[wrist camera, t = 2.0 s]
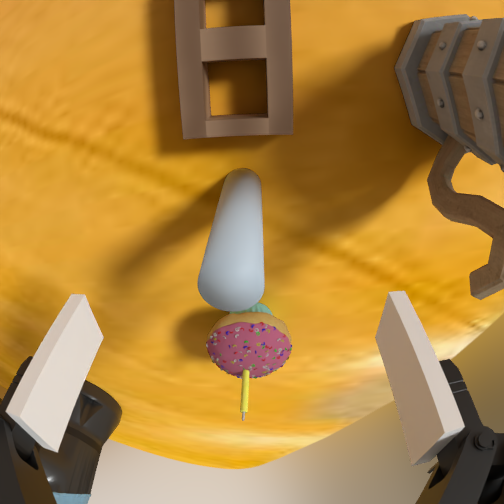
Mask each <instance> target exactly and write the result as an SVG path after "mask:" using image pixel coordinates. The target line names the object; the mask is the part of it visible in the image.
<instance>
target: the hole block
mask: <svg viewBox="0 0 504 504" xmlns="http://www.w3.org/2000/svg"><path fill="white" fill-rule="evenodd" d="M263 9H264V25H253V26H232V27H218V28H208V29H206V14H205V0H174V10H175V34H176V52H177V68H178V83H179V96H180V108H181V120H182V130H183V139H194V138H207V137H223V136H244V135H293V75H292V39H291V13H290V0H263ZM244 60H266V90H267V113H261V114H234V115H217V116H211V107H210V92H209V75H208V63H213V62H226V61H244Z"/></svg>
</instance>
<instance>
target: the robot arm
mask: <svg viewBox="0 0 504 504" xmlns="http://www.w3.org/2000/svg"><path fill="white" fill-rule="evenodd" d="M103 338H104V337H103V335H102V333H101V331H100V329H99V326H98V324H97V322H96V320H95V317H94V315H93V313H92V311H91V308H90V306H89V303H88V301H87V299H86V296H85V295H83V294H71V296H70V297H69V299H68V300H67V302H66V304H65V305H64V307H63V308H62V310H61V311H60V313H59V315H58V316H57V318H56V319H55V321H54V323H53V324H52V326H51V328H50V329H49V331H48V333H47V334H46V336H45V338H44V339H43V341H42V343H41V345H40V346H39V348H38V350H37V352H36V353H35V355H34V357H32V356H29V357H28V358H27V359H26V360H25V361H24V362H23V363H22V364H21V366H20V368H19V370H18V372H17V373H16V374H17V375H15V377H14V379H13V383H11V385H10V387H9V389H8V391H7V393H6V395H5V397H4V399H3V400H2V399H1V398H0V504H87V503H88V500H89V497H90V496H91V494H90V493H91V489H92V485H93V480H94V476H95V472H96V468H97V465H98V461H99V457H100V453H101V450H102V446H103V445H104V443H105V442H106V441H107V439H108V438H109V437H110V435H111V434H112V433H113V431H114V430H115V429H116V427H117V426H118V425H119V422H120V419H121V415H122V410H121V407H120V406H119V404H118V403H117V402H116V401H115V400H114V399H113V398H112V397H111V396H110V395H109V394H107V393H106V392H105V391H103V390H102V389H100V388H99V387H97V386H95V385H93V384H91V383H89V382H87V381H85V379H86V376H87V374H88V372H89V369H90V367H91V365H92V362H93V360H94V358H95V355H96V353H97V351H98V349H99V346H100V344H101V342H102V340H103ZM375 338H376V341H377V344H378V347H379V350H380V354H381V357H382V360H383V363H384V366H385V369H386V372H387V376H388V379H389V382H390V386H391V389H392V392H393V396H394V399H395V403H396V406H397V410H398V413H399V417H400V420H401V424H402V428H403V432H404V435H405V440H406V444H407V448H408V452H409V455H410V460H411V464H412V466H414V465H418V464H422V463H426V462H429V461H431V460H432V459H433V458H434V457H435V456H436V455H437V457H438V461H439V462H437V463H436V464H435V465H434V466H433V467H432V468H431V469H430V470H429V471H428V473H431V472H432V471H433V473H432V474H431V476H430V478H429V480H428V482H427V484H426V486H425V488H424V490H423V492H422V493H421V495H420V497H419V499H418V500H417V502H416V504H504V433H494V432H493V430H492V429H490V428H488V427H486V426H483V424H482V423H481V421H480V419H479V416H478V413H477V411H476V408H475V406H474V403H473V401H472V398H471V396H470V394H469V392H468V391H467V387H466V384H465V382H463V378H462V375H461V373H460V371H459V369H458V368H457V367H456V366H455V365H454V363H452V361H451V360H450V359H448V360H443V361H438V358H437V356H436V354H435V352H434V350H433V347H432V345H431V343H430V341H429V339H428V337H427V335H426V332H425V330H424V328H423V326H422V324H421V322H420V320H419V318H418V316H417V314H416V312H415V310H414V308H413V306H412V304H411V302H410V300H409V298H408V296H407V295H406V293H405V291H396V292H388V296H387V300H386V303H385V307H384V310H383V314H382V317H381V320H380V324H379V327H378V330H377V334H376V337H375Z"/></svg>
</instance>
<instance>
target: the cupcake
mask: <svg viewBox="0 0 504 504" xmlns="http://www.w3.org/2000/svg"><path fill="white" fill-rule="evenodd" d="M206 346H207V349H208V353H209V355H210V357H211V359H212V362H213V363H216V365H217V366H218V367H219V368H220V369H222V370H224V371H225V372H227V374H231V375H233V376H237V378H241V379H242V392H241V408H240V412H242V413H243V414H242V420H243V421H244V418H245V413H247V410H248V391H249V378H257V377H261V376H262V377H263V376H265V375H266V376H267V375H268V374H270V373H272V372H273V371H276V370H277V369H279V367H282V366H283V365H284V364H285V361H286V360H288V359H289V355H290V353H291V347H292V345H291V336H290V333H289V331H288V329H287V326H286V324H285V323H284V322H283V321H282V320H279V319H277V318H276V317H274V316H273V315H272V313H271V311H270V310H269V308H268V307H266V306H265V305H263V304H261V303H258V302H257V303H256V304H255V305H253V306H252V307H250V308H248V309H245V310H242V311H234V312H232V311H230V313H229V314H228V315H226V316H224V317H222V318H221V319H220V320H219V321H217V322H216V324H215V325H214V326H213V328H212V329H211V331H210V332H209V334H208V336H207V342H206Z"/></svg>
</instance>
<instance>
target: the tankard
mask: <svg viewBox="0 0 504 504" xmlns="http://www.w3.org/2000/svg"><path fill="white" fill-rule="evenodd" d="M394 69H395V72H396V75H397V78H398V81H399V84H400V87H401V90H402V93H403V96H404V99H405V103H406V106H407V110H408V113H409V117H410V120H411V124H412V125H413V126H415V127H416V128H418V129H419V130H421V131H422V132H424V133H425V134H427V135H428V136H430V137H431V138H433V139H434V140H436V141H437V142H439V143H440V144H442V145H443V146H442V147H441V149H440V151H439V153H438V154H437V156H436V159H435V161H434V164H433V166H432V169H431V171H430V174H429V176H428V179H427V182H428V186H429V191H430V195H431V199H432V204H433V205H434V206H435V207H436V208H437V209H438V210H439V212H440V213H441V214H442V215H443V216H444V217H446V218H447V219H449V220H451V221H454V222H458V223H463V224H467V225H471V226H475V227H478V228H479V229H481V230H482V231H483V232H485V233H486V234H488V235H489V236H490V237H492V238H493V241H492V246H491V251H490V256H489V261H488V264H486V265H484V266H482V267H480V268H479V269H477V270H475V271H473V272H471V273H470V276H469V278H470V291H471V295H472V296H473V297H475V298H478V299H480V300H481V299H483V298H485V297H488V296H490V295H492V294H494V293H496V292H498V291H500V290H502V289H504V208H502V207H500V206H499V205H497V204H495V203H494V202H492V201H490V200H488V199H486V198H485V197H483V196H480V195H471V194H462V193H457V192H455V191H454V189H453V186H452V183H451V179H452V176H453V173H454V169H455V168H456V166H457V165H458V163H459V161H460V160H461V158H462V157H463V155H464V154H465V153H468V152H472V153H473V154H474V155H475V156H477V157H478V158H480V159H482V160H483V161H485V162H487V163H489V164H491V165H493V164H496V163H498V164H499V165H500V167H501V170H502V171H503V172H504V18H494V19H483V20H478V19H477V18H476V17H474V16H472V17H469V16H468V15H466V14H463V15H452V16H443V17H435V18H427V19H421V20H416V21H414V24H413V26H412V28H411V31H410V33H409V35H408V38H407V40H406V42H405V45H404V47H403V49H402V51H401V54H400V56H399V58H398V61H397V63H396V65H395V67H394Z"/></svg>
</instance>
